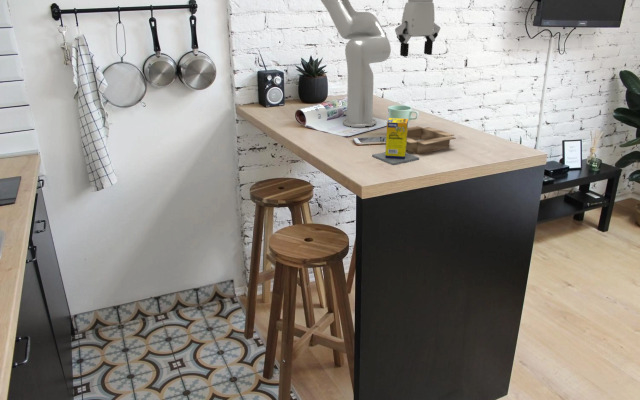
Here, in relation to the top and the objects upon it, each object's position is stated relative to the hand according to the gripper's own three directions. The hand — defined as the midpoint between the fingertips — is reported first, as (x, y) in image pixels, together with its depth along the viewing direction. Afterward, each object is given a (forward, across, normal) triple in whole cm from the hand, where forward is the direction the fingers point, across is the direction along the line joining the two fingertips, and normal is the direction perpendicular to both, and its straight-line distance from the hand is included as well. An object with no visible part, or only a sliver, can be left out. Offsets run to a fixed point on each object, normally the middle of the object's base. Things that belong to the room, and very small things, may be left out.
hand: (416, 55), depth 167 cm
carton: (+28, +3, +9) cm, 29 cm away
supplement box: (+27, +18, +15) cm, 36 cm away
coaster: (+27, +18, +16) cm, 36 cm away
